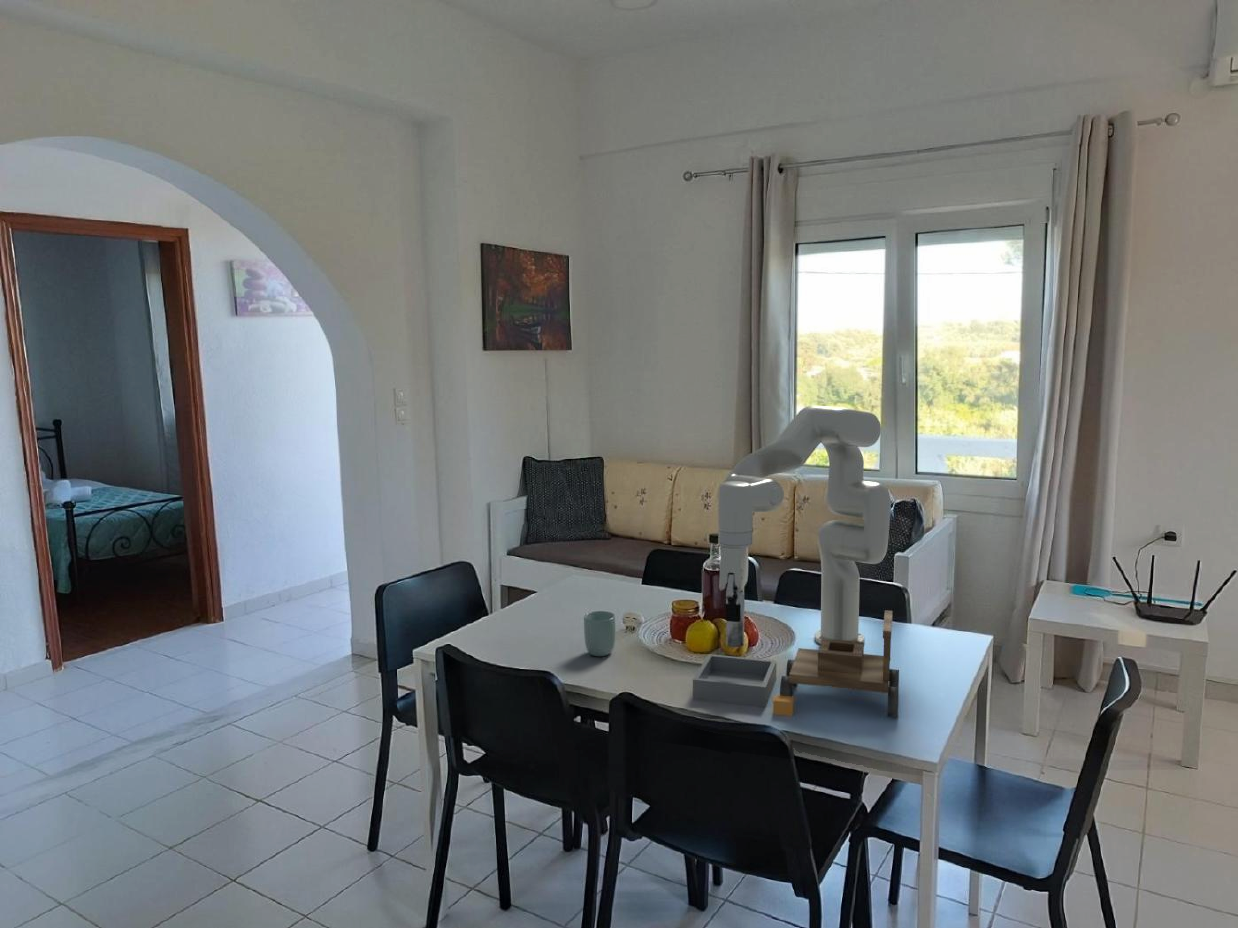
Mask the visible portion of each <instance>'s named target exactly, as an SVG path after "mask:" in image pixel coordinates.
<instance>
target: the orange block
mask: <svg viewBox="0 0 1238 928" xmlns="http://www.w3.org/2000/svg"><path fill="white" fill-rule="evenodd" d="M794 711H795V696H792V697H790V696H781V695H780V694H774V697H773V700H772V714H773V715H779V716H787V717H793V714H794Z"/></svg>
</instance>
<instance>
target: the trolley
mask: <svg viewBox="0 0 1238 928" xmlns="http://www.w3.org/2000/svg"><path fill="white" fill-rule="evenodd" d="M892 629H893V610H884V616H883V627H882V639H883V655H878V654H877V655H876V654H868V653H864V652H865V651H864V649H865V641H864V642H856V641H845V640H833V639H822V640H821V643H820V644H819V648H818V649H810V648H800V647H799V648H798V649H797V651H796V654H795V657H794V659H787V662H786V668H785V669H786V672H785V675H782V676H781V679H780V687H779V695H781V696H790V697H793V695H794V694H793V692H794V688H797V686H798V685H807V686H816V687H825V688H827V687H828V688H835V689H844V690H845V689H846V690H854V691H865V692H873V693H874V692H875V693H886V694H887V717H893V718H894V717H895V718H898V717H899V713H898V712H899V688H900V687H899V684H900V683H899V682H900V670H899V669H892V668H890V667H891V664H890V663H891V645H892V644H891V642H892Z"/></svg>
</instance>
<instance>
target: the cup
mask: <svg viewBox="0 0 1238 928" xmlns="http://www.w3.org/2000/svg"><path fill="white" fill-rule="evenodd" d="M616 627H617V625H616V615H615V613H613V612H612V611H605V610H596V611H591V612H590V611H589V612H588V613H586V614H585V615H584V616H583V634H584V643H585V648H586V650H587V652H588V653H589V654H590V655H591V656H595V657H606V656H608V655H610V654H611V653H612V652H613V651H614V649H615V644H616V635H617V634H616V633H617V632H616V630H617V629H616Z"/></svg>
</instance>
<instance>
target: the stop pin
mask: <svg viewBox="0 0 1238 928" xmlns="http://www.w3.org/2000/svg"><path fill="white" fill-rule="evenodd" d="M734 595H735V596H736V593H734ZM739 604H741V620H740V622H731V621H726V620H725V644H726V646H727V647H729V648H741V647H743V646H745V591H744V592H743V591H740V596H739Z"/></svg>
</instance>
